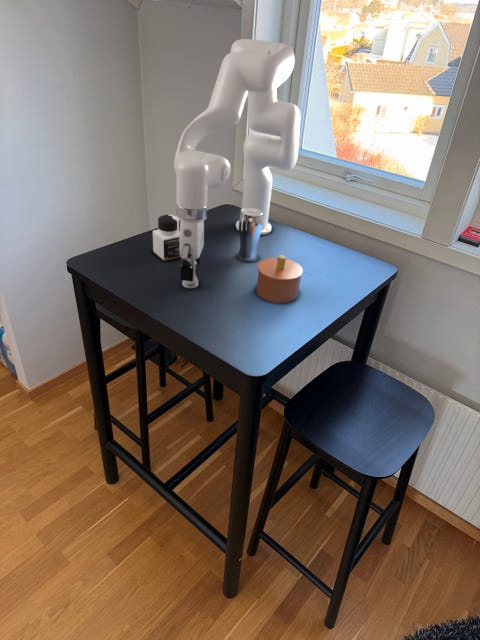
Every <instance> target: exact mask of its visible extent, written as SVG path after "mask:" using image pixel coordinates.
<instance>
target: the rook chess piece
mask: <svg viewBox="0 0 480 640" xmlns="http://www.w3.org/2000/svg"><path fill="white" fill-rule="evenodd" d="M188 261H189V263H190V259H188ZM197 265H198V264H197V262H196V261H195V258H194V259H193V264H192V267H193V281H184V280H181V281H182V283H181V284H182V286H183V287H184V288H185V289H188V290H189V289H190V290H193V289H196V288H197V287H198V286H199V279H198V277H197V275H196V269H197V267H196V266H197Z"/></svg>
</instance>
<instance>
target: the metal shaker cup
mask: <svg viewBox="0 0 480 640" xmlns="http://www.w3.org/2000/svg"><path fill="white" fill-rule="evenodd" d="M238 221H239V230H238V236H239V249H238V254H237V258H238V260H241V261H242V262H255V261H256V260H258V245H259V241H260V237H261V236H262V235H261V230H262V221H263V212H262V210H260V209H257V208H252V207H247V208H243V209H242V208H241V209H240V214H239V219H238Z"/></svg>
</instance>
